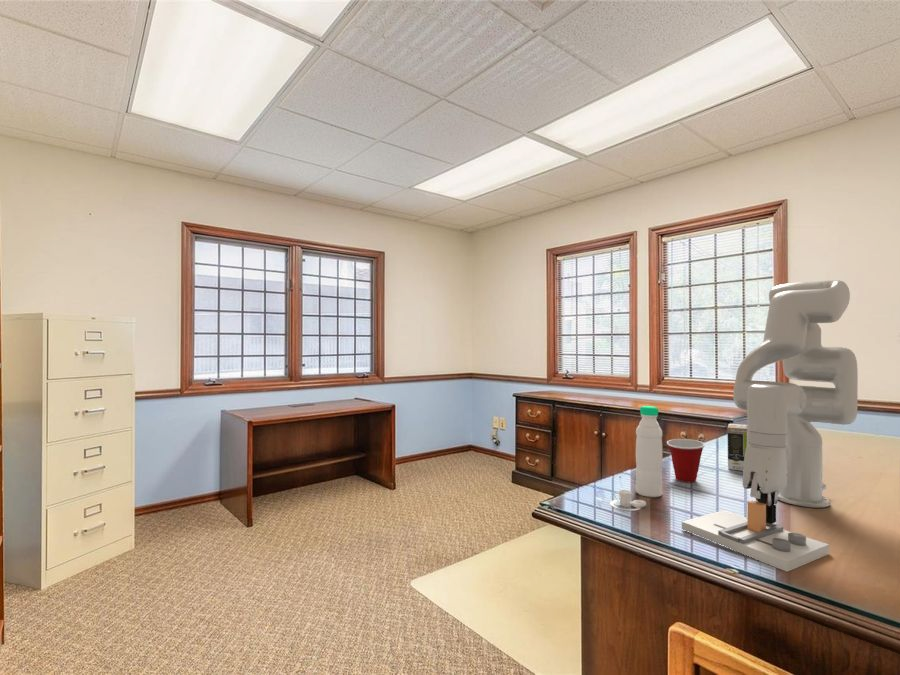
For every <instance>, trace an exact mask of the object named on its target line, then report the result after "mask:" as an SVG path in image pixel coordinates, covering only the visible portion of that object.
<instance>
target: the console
mask: <svg viewBox="0 0 900 675" xmlns="http://www.w3.org/2000/svg"><path fill="white" fill-rule="evenodd" d="M682 529H683V530H686V531H689V532H691V533H694V534H696V535H699V536H701V537H704V538H706V539H709V540H711V541H714V542H716V543H719V544H721V545H724V546H726V547H728V548H731V549H733V550H735V551H734V552H736V551H737V552H736V553H738V552H740V553H739V554H741V553H742V554H741V555H743V554H744V556H746V555H747V556H746V557H748V556H749V557H748V558H751V557H752V558H751V559H753V558H754V560H756V561H758V560H759V561H758V562H762V563H763V564H766V565H768V564H769V566H771V567H774V568H777V569H779V570H782V571H783V572H787V573H788V572H790V571H792V570H795V569H797V568H800V567H802V566H804V565H807V564H809V563H811V562H813V561H815V560H818V559H821V558H823V557H826V556H827V555H829V554H830V544H829V543H825V542H822V541H820V540H817V539H815V538H810V537H807V536H806V535H804V534H801V533H798V532H792V531H790V530H786V529H784V526H781V525H780V524H778V523H776V522H775V523H772V524H769V523H766V529H765V530H762V531H759V532H756V531H753V530H750V529H747V517H746V516H743V515H740V514H737V513H734V512H731V511H727V510H724V509H722V510H719V511H716V512H711V513H708V514H704V515H700V516H697V517H694V518H690V519H686V520H682V521H681V530H682ZM728 548H727V549H728ZM731 549H730V550H731ZM733 550H732V551H733Z"/></svg>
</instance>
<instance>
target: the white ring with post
mask: <svg viewBox="0 0 900 675" xmlns="http://www.w3.org/2000/svg"><path fill="white" fill-rule="evenodd" d="M616 494H618V496H619V498H618V499H617V497H616ZM613 496H614V498H615V499H613V500H610V501H609V505H610V507H612V508H614V509H617V510H621V511H627V512H629V511H630V512H632V511H633V512H634V511H639V510H641V509H642V508H644V507H646V506H647V502H646V501H645V500H643V499H634V500H632V491H630V490H627V489H620V490H618V491H616V492H614V495H613ZM615 503H619V505H620V506H622V507H624V508H621V507H618V506H616V505H615ZM630 506H632V507H633V508H630V509H629V507H630ZM626 508H627V509H626Z"/></svg>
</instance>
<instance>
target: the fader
mask: <svg viewBox="0 0 900 675" xmlns="http://www.w3.org/2000/svg"><path fill="white" fill-rule="evenodd" d="M746 518H747V529H750V530H753V531H756V532H759V531H762V530H765V529H766V504H764V503H760V502H757V501H756V500H754V499H753V500H748V501H747V517H746Z"/></svg>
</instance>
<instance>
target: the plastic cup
mask: <svg viewBox="0 0 900 675" xmlns="http://www.w3.org/2000/svg"><path fill="white" fill-rule="evenodd" d="M666 445H668V449H669V452H670V455H671V462H672V467H673V470H674V477H675V480H677V481H679V482H683V483H695V482H697V478H698V473H699V470H700V463H701V458H702V454H703V450H704V447H705V442H702V441H700V440H697V439H690V438H673V439H669V440H667V441H666Z"/></svg>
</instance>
